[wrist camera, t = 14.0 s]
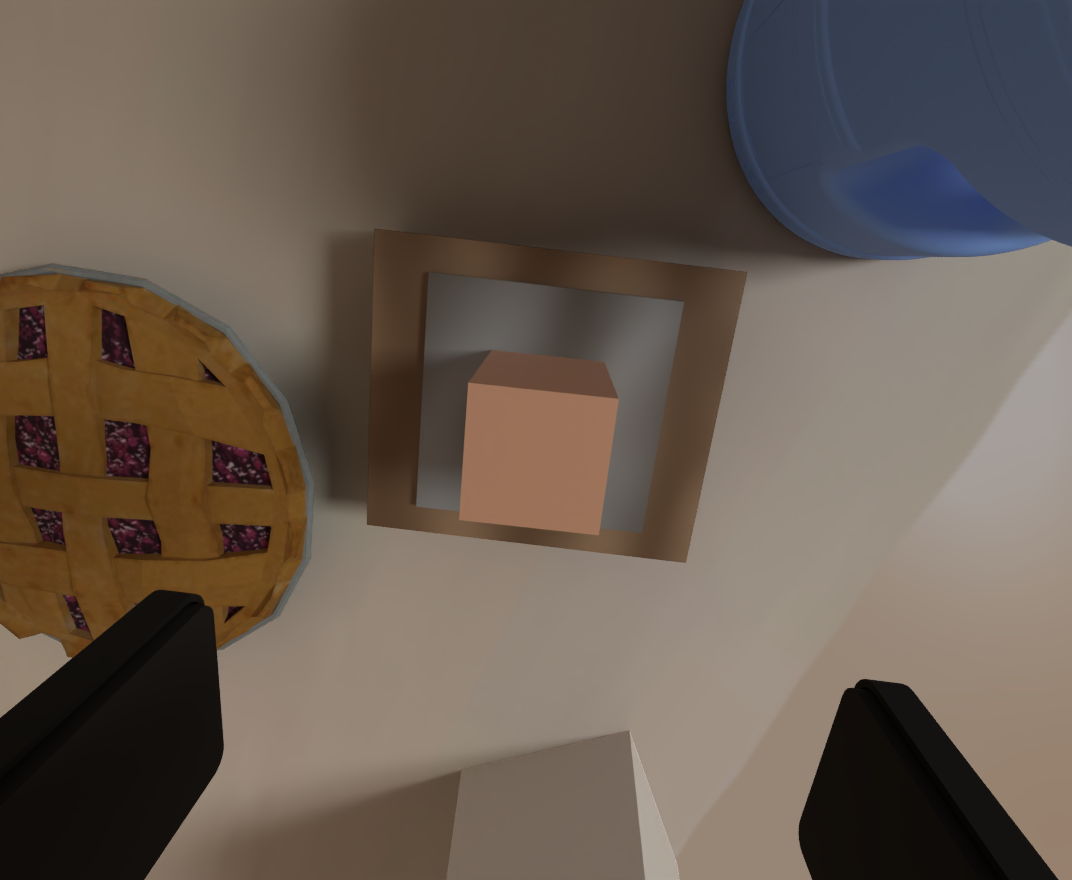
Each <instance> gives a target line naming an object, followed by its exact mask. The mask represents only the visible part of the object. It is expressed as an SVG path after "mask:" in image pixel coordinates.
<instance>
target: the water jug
mask: <svg viewBox="0 0 1072 880" xmlns="http://www.w3.org/2000/svg"><path fill="white" fill-rule="evenodd" d="M726 101H727V114H728V122H729V128H730V133H731V138H732V142H733V146H734V149H735V152H736V155H737V158H738V161H739V163H740V166H741V168H742V171H743V173H744V175H745V177H746V179H747V181H748V182H749V184H750V186H751V188H752V189H753V191H754V192H755V194H756V195H757V197H758V198H759V200H760V201H761V202H762V204H763V205H764V206H765V207H766V208H767V210H768V211H769V212H770V213H771V214H772V215H773V216H774V217H775V218H776V219H777V220H778V221H779V222H780V223H781V224H783V225H784V226H785V227H786V228H788V229H789V230H790V231H792V232H793V233H794V234H796V235H797V236H799V237H801V238H802V239H804V240H806V241H807V242H809V243H811V244H813V245H815V246H818V247H820V248H822V249H825V250H828V251H830V252H834V253H837V254H841V255H845V256H849V257H855V258H862V259H874V260H909V259H919V258H926V257H974V256H986V255H994V254H1000V253H1006V252H1011V251H1015V250H1020V249H1024V248H1027V247H1031V246H1034V245H1038V244H1041V243H1044V242H1047V241H1050V240H1055V241H1057V242H1060V243H1063V244H1066V245H1069V246H1072V0H744V2H743V4H742V7H741V10H740V13H739V16H738V19H737V22H736V26H735V30H734V34H733V38H732V42H731V47H730V53H729V59H728V68H727V81H726Z"/></svg>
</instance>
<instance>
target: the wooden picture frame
mask: <svg viewBox="0 0 1072 880" xmlns="http://www.w3.org/2000/svg"><path fill="white" fill-rule="evenodd" d="M746 276H747V272H743V271H734V270H725V269H717V268H708V267H699V266H691V265H682V264H674V263H665V262H656V261H648V260H639V259H631V258H622V257H613V256H605V255H596V254H588V253H579V252H570V251H562V250H553V249H545V248H536V247H527V246H519V245H510V244H502V243H493V242H484V241H476V240H467V239H459V238H450V237H441V236H433V235H424V234H416V233H407V232H398V231H390V230H381V229H374V268H373V307H372V346H371V385H370V424H369V462H368V501H367V525H373V526H382V527H390V528H398V529H407V530H415V531H424V532H432V533H440V534H449V535H457V536H465V537H474V538H482V539H491V540H499V541H507V542H516V543H524V544H532V545H541V546H549V547H557V548H566V549H574V550H583V551H591V552H599V553H608V554H616V555H624V556H633V557H641V558H650V559H658V560H666V561H675V562H683V563H686V560H687V555H688V550H689V545H690V541H691V536H692V531H693V527H694V522H695V517H696V512H697V508H698V503H699V498H700V493H701V489H702V484H703V479H704V475H705V470H706V465H707V460H708V456H709V451H710V446H711V442H712V437H713V432H714V427H715V423H716V418H717V413H718V408H719V404H720V399H721V394H722V390H723V385H724V380H725V375H726V371H727V366H728V361H729V356H730V352H731V347H732V342H733V338H734V333H735V328H736V323H737V319H738V314H739V309H740V304H741V300H742V295H743V290H744V286H745V281H746ZM492 350H498V351H507V352H517V353H526V354H535V355H544V356H554V357H563V358H572V359H582V360H591V361H600V362H605V365H606V367H607V370H608V372H609V375H610V378H611V380H612V383H613V385H614V388H615V390H616V393H617V395H618V398H619V402H618V409H617V415H616V422H615V429H614V436H613V443H612V449H611V456H610V463H609V470H608V477H607V483H606V490H605V497H604V504H603V510H602V517H601V524H600V531H599V535H591V534H582V533H573V532H564V531H555V530H545V529H536V528H527V527H518V526H509V525H500V524H491V523H482V522H473V521H464V520H459V513H460V498H461V483H462V468H463V453H464V438H465V423H466V408H467V393H468V382H469V381H470V379H471V378H472V377H473V375H474V374H475V373H476V371H477V370H478V369H479V367H480V366H481V364H482V363H483V362H484V360H485V359H486V358H487V356H488V355H489V353H490V352H491V351H492Z"/></svg>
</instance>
